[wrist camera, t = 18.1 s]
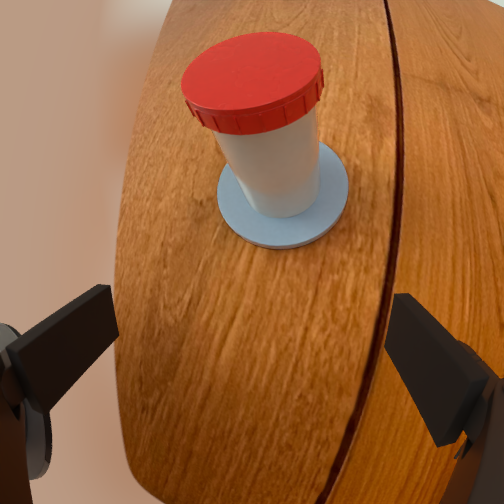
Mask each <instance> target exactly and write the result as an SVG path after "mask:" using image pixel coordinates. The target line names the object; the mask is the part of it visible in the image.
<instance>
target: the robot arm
mask: <svg viewBox="0 0 504 504" xmlns="http://www.w3.org/2000/svg"><path fill="white" fill-rule="evenodd" d="M118 336H119V332H118V327H117V322H116V316H115V311H114V305H113V299H112V293H111V286H110V285H101V284H98V285H96V286H94V287H93V288H91V289H90V290H88V291H87V292H85V293H83V294H82V295H81V296H79V297H77V298H76V299H74V300H73V301H71V302H70V303H68V304H67V305H65V306H64V307H62V308H61V309H59V310H58V311H56V312H55V313H53V314H52V315H50V316H49V317H47V318H46V319H44V320H43V321H41V322H40V323H39V324H37V325H36V326H34V327H33V328H31V329H30V330H28V331H27V332H25V333H24V334H23V335H21V336H20V337H18V338H17V339H16V340H14V341H13V342H11V343H10V344H9V345H7V346H6V347H5V349H4V350H3V351H0V504H33V501H32V495H31V489H30V483H29V475H28V466H27V455H26V439H27V419H26V411H25V405H24V399H25V398H27V400H28V402H29V404H30V406H31V408H32V410H34V411H36V412H38V413H41V414H43V415H45V416H46V415H47V413H48V412H49V411H50V410H51V409H52V408H53V407H54V406H55V404H56V403H57V402H58V401H59V400H60V399H61V397H63V395H64V394H65V393H66V392H67V391H68V390H69V389H70V388H71V387H72V386H73V384H74V383H75V382H76V381H77V380H78V379H79V378H80V377H81V376H82V375H83V373H84V372H85V371H86V370H87V369H88V368H89V367H90V366H91V365H92V364H93V363H94V362H95V361H96V360H97V359H98V357H99V356H100V355H101V354H102V353H103V352H104V351H105V350H106V349H107V348H108V347H109V346H110V345H111V344H112V343H113V342H114V341H115V340H116V338H117V337H118ZM384 348H385V349H386V351H387V353H388V355H389V356H390V358H391V360H392V362H393V364H394V365H395V367H396V369H397V371H398V372H399V374H400V376H401V378H402V380H403V382H404V383H405V385H406V387H407V389H408V391H409V393H410V395H411V397H412V398H413V400H414V402H415V404H416V406H417V408H418V410H419V412H420V414H421V416H422V418H423V420H424V422H425V424H426V426H427V428H428V430H429V432H430V434H431V436H432V438H433V440H434V442H435V444H436V446H437V448H438V447H441V446H445V445H448V444H452V443H455V442H456V441H457V439H458V437H459V436H460V434H461V432H462V431H463V430H464V432H465V433H466V435H467V438H466V440H465V441H464V443H463V445H462V446H461V448H460V449H459V451H458V452H457V454H456V455H455V457H454V459H457V457H458V456H459V457H458V460H457V463H456V465H455V468H454V471H453V473H452V476H451V478H450V481H449V483H448V486H447V488H446V490H445V492H444V495H443V497H442V499H441V501H440V503H439V504H504V378H502V379H500V378H499V377H498V376H497V375H496V374H495V373H494V372H493V370H492V369H491V368H490V367H489V366H488V365H487V364H486V363H485V362H484V361H482V359H481V358H480V357H479V356H478V355H476V352H475V351H474V350H473V349H472V348H471V347H470V346H468V345H466V344H465V343H463V342H461V341H460V340H458V341H457V340H456V339H455V338H454V337H453V336H452V335H451V334H450V333H449V332H448V331H447V330H446V329H445V328H444V327H443V326H442V325H441V324H440V323H439V322H438V321H437V320H436V319H435V318H434V317H433V316H432V315H431V314H430V313H429V312H428V311H427V310H426V309H425V308H424V307H423V306H422V305H421V304H420V303H419V302H418V301H417V300H416V299H414V298H413V297H412V296H411V295H410V294H409V293H400V294H394V299H393V305H392V310H391V316H390V321H389V326H388V331H387V336H386V340H385V345H384Z"/></svg>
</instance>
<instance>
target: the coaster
mask: <svg viewBox="0 0 504 504" xmlns="http://www.w3.org/2000/svg"><path fill="white" fill-rule="evenodd" d="M319 150H320V172H321V188H320V192H319V195H318V197H317V199H316V200H315V202H314V203H313V204H312V205H311V206H310V207H309V208H308V209H306V210H305V211H304V212H302V213H300V214H298V215H295V216H292V217H288V218H271V217H267V216H264V215H262V214H260V213H258V212H256V211H255V210H254V209H253V208H252V207H251V206H250V205H249V204H248V202H247V201H246V199H245V197H244V195H243V193H242V191H241V189H240V187H239V185H238V182H237V180H236V178H235V176H234V174H233V172H232V170H231V168H230V166H229V164H228V163H227V164H226V166H225V167H224V169H223V171H222V173H221V176H220V178H219V183H218V188H217V200H218V205H219V209H220V211H221V214H222V216H223V217H224V219H225V221H226V222H227V224H228V225H229V226H230V228H231V229H232V230H233V231H234V232H235V233H236V234H237V235H238V236H240V237H241V238H243V239H244V240H246V241H248V242H250V243H252V244H254V245H257V246H260V247H265V248H269V249H290V248H295V247H300V246H303V245H306V244H309V243H311V242H313V241H315V240H317V239H318V238H320V237H322V236H323V235H324V234H326V233H327V232H328V231H329V230H330V229H331V228H332V227H333V226H334V225H335V224H336V223H337V221H338V220H339V218H340V217H341V215H342V213H343V211H344V209H345V206H346V203H347V197H348V177H347V173H346V170H345V167H344V165H343V163H342V162H341V160H340V159H339V157H338V156H337V155H336V154H335V153H334V152H333V150H331V149H330V148H329V147H328V146H327V145H325V144H323V143H322V142H320V141H319Z"/></svg>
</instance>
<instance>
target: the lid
mask: <svg viewBox="0 0 504 504" xmlns="http://www.w3.org/2000/svg"><path fill="white" fill-rule="evenodd" d="M323 88H324V77H323V69H321V59H320V55H319V53H318V51H317V49H316V48H315V47H314V46H313V45H312V44H310V43H309V42H308V41H306V40H304V39H302V38H300V37H297V36H294V35H291V34H286V33H278V32H259V33H251V34H245V35H241V36H237V37H234V38H231V39H228V40H225V41H223V42H221V43H218V44H216V45H214V46H212V47H211V48H209V49H207V50H206V51H204V52H203V53H202V54H200V55H199V56H198V57H197V58H196V59H194V60H193V61H192V63H191V64H190V65H189V66H188V68H187V69H186V70H185V72H184V74H183V77H182V80H181V90H182V93H183V95H184V97H185V99H186V101H185V102H186V104H187V105H188V107H189V109H190V111H191V113H192V115H193V116H195V117H196V118H197V120H198V121H199V122H200V123H201V124H202V126H203V127H204V126H205V127H207V128H209V129H211V130H213V131H216V132H218V133H224V134H230V135H252V134H260V133H266V132H269V131H272V130H276V129H279V128H282V127H284V126H287V125H290V124H291V123H293V122H295V121H297V120H298V119H300V118H301V117H303V116H304V115H306V114H308V112H309V111H310V110H311V109H312V108H313V107H314V106H315V105H316V103H317V102H318V101H320V96H321V94H322V89H323Z"/></svg>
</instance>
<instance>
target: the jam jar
mask: <svg viewBox="0 0 504 504" xmlns="http://www.w3.org/2000/svg"><path fill="white" fill-rule="evenodd" d="M211 131H212V133H213V135H214V137H215V139H216V140H217V142H218V144H219V146H220V148H221V150H222V152H223V154H224V156H225V158H226V160H227V162H228V164H229V166H230V168H231V170H232V172H233V174H234V176H235V178H236V180H237V182H238V185H239V187H240V189H241V191H242V193H243V195H244V197H245V199H246V201H247V202H248V204H249V205H250V206H251V207H252V208H253V209H254V210H255V211H256V212H258V213H260V214H262V215H264V216H267V217H271V218H288V217H292V216H295V215H298V214H300V213H302V212H304V211H305V210H306V209H308V208H309V207H310V206H311V205H312V204H313V203H314V202H315V200H316V199H317V197H318V195H319V192H320V188H321V172H320V150H319V133H318V119H317V106H316V105H315V106H314V107H313V108H312V109H311V110H310V111H309V112H308V114H306V115H304V116H303V117H301V118H300V119H298V120H297V121H295V122H293V123H291V124H290V125H287V126H284V127H282V128H279V129H276V130H272V131H269V132H266V133H260V134H252V135H230V134H224V133H218V132H216V131H213V130H211Z"/></svg>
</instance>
